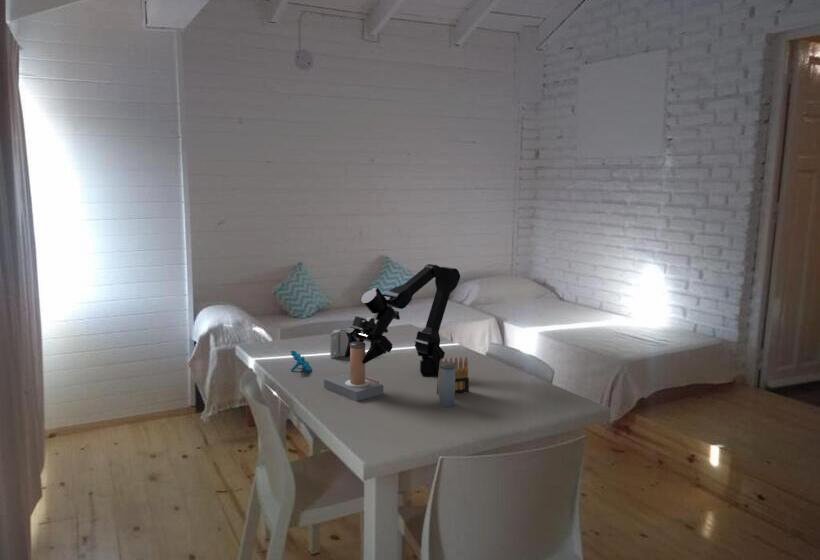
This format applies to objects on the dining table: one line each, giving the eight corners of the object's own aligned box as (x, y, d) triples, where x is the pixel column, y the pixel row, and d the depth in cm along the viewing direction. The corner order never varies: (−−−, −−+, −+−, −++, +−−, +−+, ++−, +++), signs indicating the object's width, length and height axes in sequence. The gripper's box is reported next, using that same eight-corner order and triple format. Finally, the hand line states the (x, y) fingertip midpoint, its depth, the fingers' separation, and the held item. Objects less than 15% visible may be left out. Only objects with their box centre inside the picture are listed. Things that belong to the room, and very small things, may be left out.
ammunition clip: (438, 395, 216) (439, 359, 214) (436, 393, 218) (437, 358, 216) (468, 392, 220) (469, 356, 218) (466, 390, 221) (467, 355, 219)
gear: (310, 370, 236) (291, 350, 236) (298, 382, 236) (279, 362, 236) (315, 366, 247) (296, 347, 247) (304, 377, 247) (285, 358, 247)
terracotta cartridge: (367, 381, 219) (368, 342, 217) (361, 385, 214) (361, 346, 212) (354, 379, 220) (354, 341, 218) (347, 383, 216) (347, 344, 214)
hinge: (331, 359, 258) (331, 333, 257) (325, 356, 263) (324, 331, 261) (362, 354, 266) (362, 329, 264) (356, 351, 270) (356, 327, 269)
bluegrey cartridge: (453, 401, 210) (454, 361, 208) (456, 406, 205) (457, 366, 203) (437, 402, 209) (438, 361, 207) (440, 407, 204) (441, 366, 202)
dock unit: (352, 381, 230) (352, 371, 229) (384, 393, 217) (384, 382, 216) (324, 387, 222) (324, 377, 222) (356, 401, 209) (356, 390, 209)
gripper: (349, 302, 223) (322, 340, 217) (385, 311, 209) (357, 351, 204) (368, 322, 229) (342, 359, 224) (404, 332, 216) (377, 371, 210)
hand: (354, 360), depth 215 cm, fingers open, 9 cm apart
